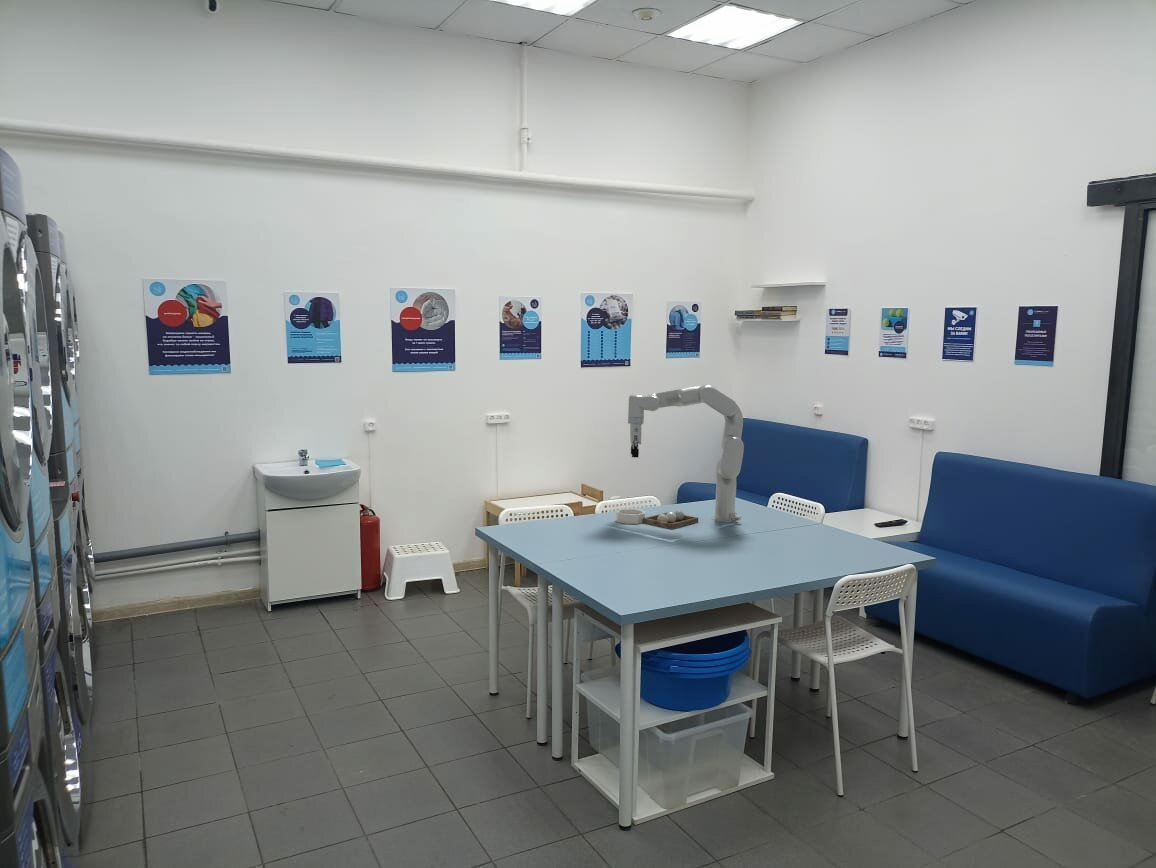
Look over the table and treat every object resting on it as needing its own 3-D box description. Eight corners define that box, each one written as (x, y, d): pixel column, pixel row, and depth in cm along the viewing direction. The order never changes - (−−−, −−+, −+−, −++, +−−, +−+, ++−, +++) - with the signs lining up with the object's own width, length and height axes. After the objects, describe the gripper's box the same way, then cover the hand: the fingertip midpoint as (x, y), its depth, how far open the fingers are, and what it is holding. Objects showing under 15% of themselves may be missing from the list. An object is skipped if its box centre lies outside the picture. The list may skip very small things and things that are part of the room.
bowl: (649, 522, 386) (649, 512, 386) (632, 526, 377) (632, 516, 376) (628, 517, 395) (628, 507, 394) (611, 521, 386) (611, 511, 385)
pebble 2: (678, 522, 384) (678, 512, 383) (671, 524, 380) (672, 513, 379) (669, 520, 387) (669, 510, 386) (663, 522, 383) (663, 512, 383)
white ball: (669, 524, 379) (670, 514, 378) (663, 526, 375) (663, 515, 375) (661, 522, 382) (661, 512, 382) (654, 524, 379) (655, 514, 378)
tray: (698, 523, 386) (698, 517, 385) (672, 530, 370) (672, 524, 370) (669, 517, 397) (669, 511, 397) (642, 524, 382) (642, 518, 381)
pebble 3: (685, 520, 388) (686, 510, 388) (679, 522, 385) (680, 511, 384) (677, 518, 392) (677, 508, 391) (671, 520, 388) (671, 510, 388)
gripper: (644, 422, 381) (643, 458, 383) (642, 419, 399) (641, 453, 401) (628, 422, 381) (627, 458, 383) (627, 418, 399) (625, 453, 401)
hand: (634, 455), depth 392 cm, fingers open, 9 cm apart
